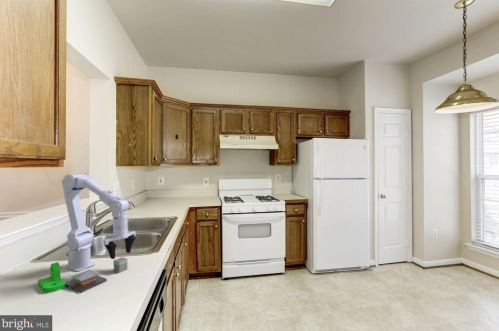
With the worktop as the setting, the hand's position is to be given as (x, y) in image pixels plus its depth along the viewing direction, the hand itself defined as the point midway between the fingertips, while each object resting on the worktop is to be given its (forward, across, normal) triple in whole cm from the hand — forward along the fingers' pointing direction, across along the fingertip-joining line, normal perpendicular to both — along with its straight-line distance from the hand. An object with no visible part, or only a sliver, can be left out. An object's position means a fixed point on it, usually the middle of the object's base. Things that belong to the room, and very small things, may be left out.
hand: (120, 255), depth 108 cm
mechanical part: (+7, -21, +12) cm, 26 cm away
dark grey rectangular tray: (+7, -14, +2) cm, 16 cm away
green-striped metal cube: (+7, 0, 0) cm, 7 cm away
